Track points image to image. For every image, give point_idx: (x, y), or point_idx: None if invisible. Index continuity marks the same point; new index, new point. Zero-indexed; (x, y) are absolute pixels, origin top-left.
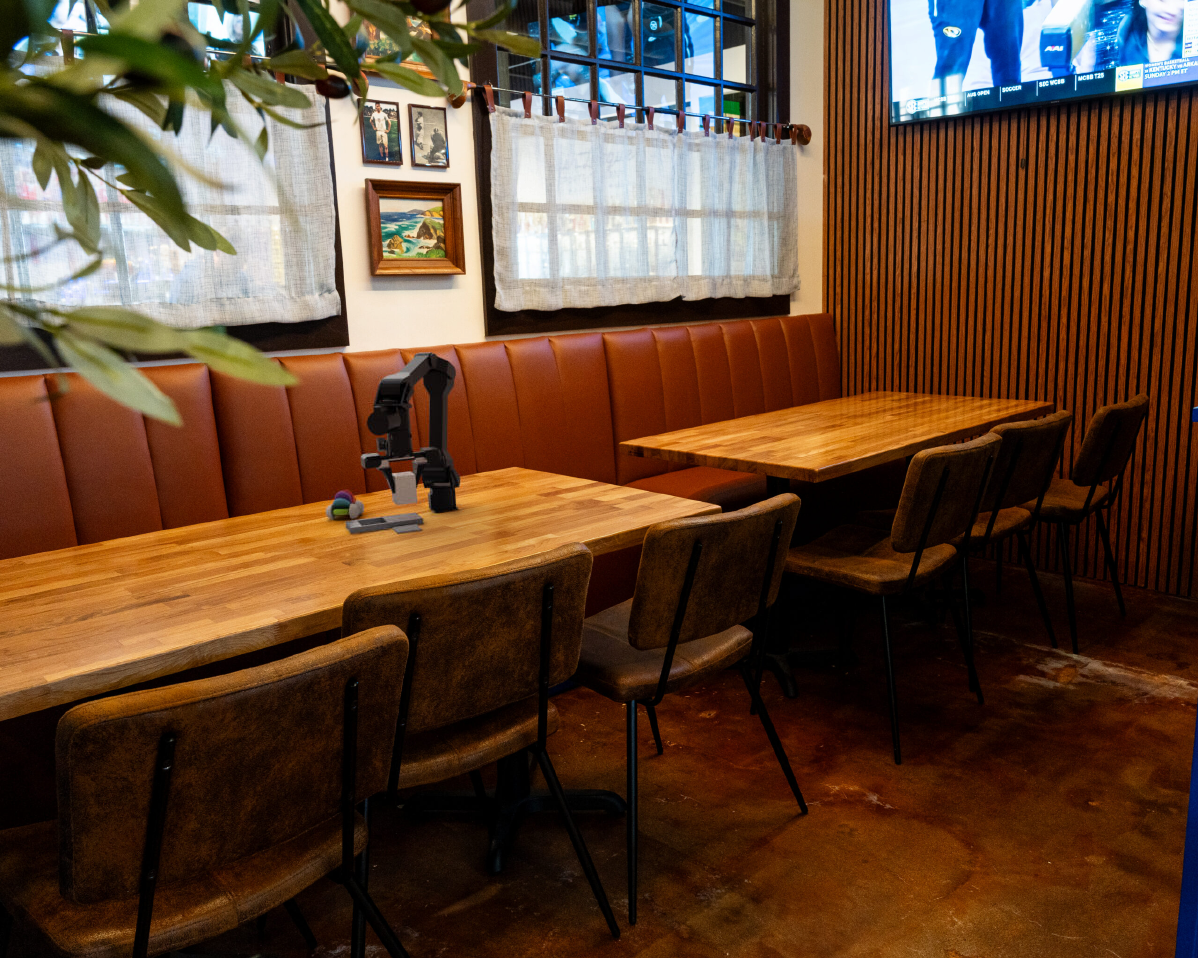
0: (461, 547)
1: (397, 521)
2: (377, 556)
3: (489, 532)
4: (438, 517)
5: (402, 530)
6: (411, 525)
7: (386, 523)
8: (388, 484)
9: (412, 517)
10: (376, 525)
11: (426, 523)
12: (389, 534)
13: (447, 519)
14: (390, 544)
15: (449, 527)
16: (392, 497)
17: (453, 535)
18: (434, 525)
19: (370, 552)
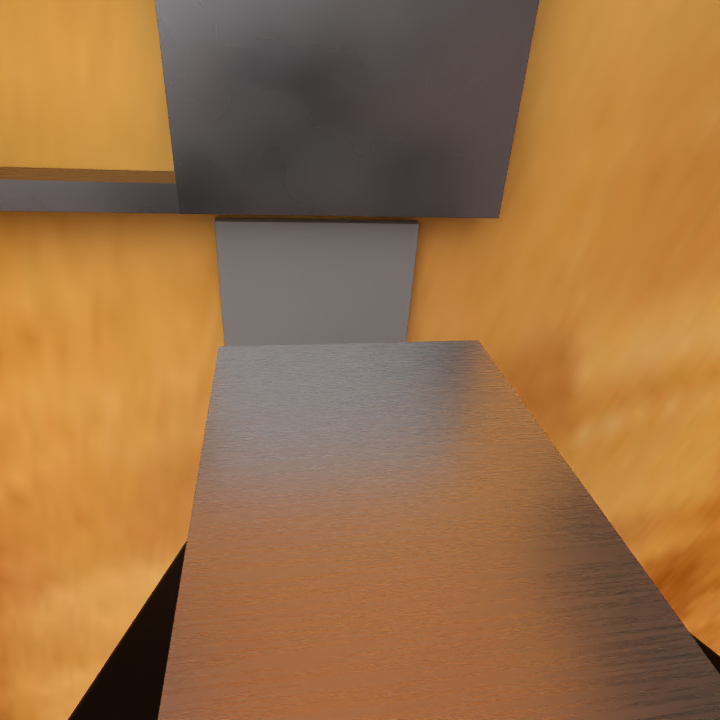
0: None
1: (270, 204)
2: (75, 706)
3: (638, 559)
4: (693, 18)
5: None
6: (372, 256)
7: (160, 211)
8: (112, 660)
9: (440, 120)
10: (58, 210)
11: (508, 194)
12: (171, 376)
13: (690, 157)
14: (152, 576)
15: (564, 393)
16: (214, 383)
17: None
18: (522, 293)
19: (37, 656)
